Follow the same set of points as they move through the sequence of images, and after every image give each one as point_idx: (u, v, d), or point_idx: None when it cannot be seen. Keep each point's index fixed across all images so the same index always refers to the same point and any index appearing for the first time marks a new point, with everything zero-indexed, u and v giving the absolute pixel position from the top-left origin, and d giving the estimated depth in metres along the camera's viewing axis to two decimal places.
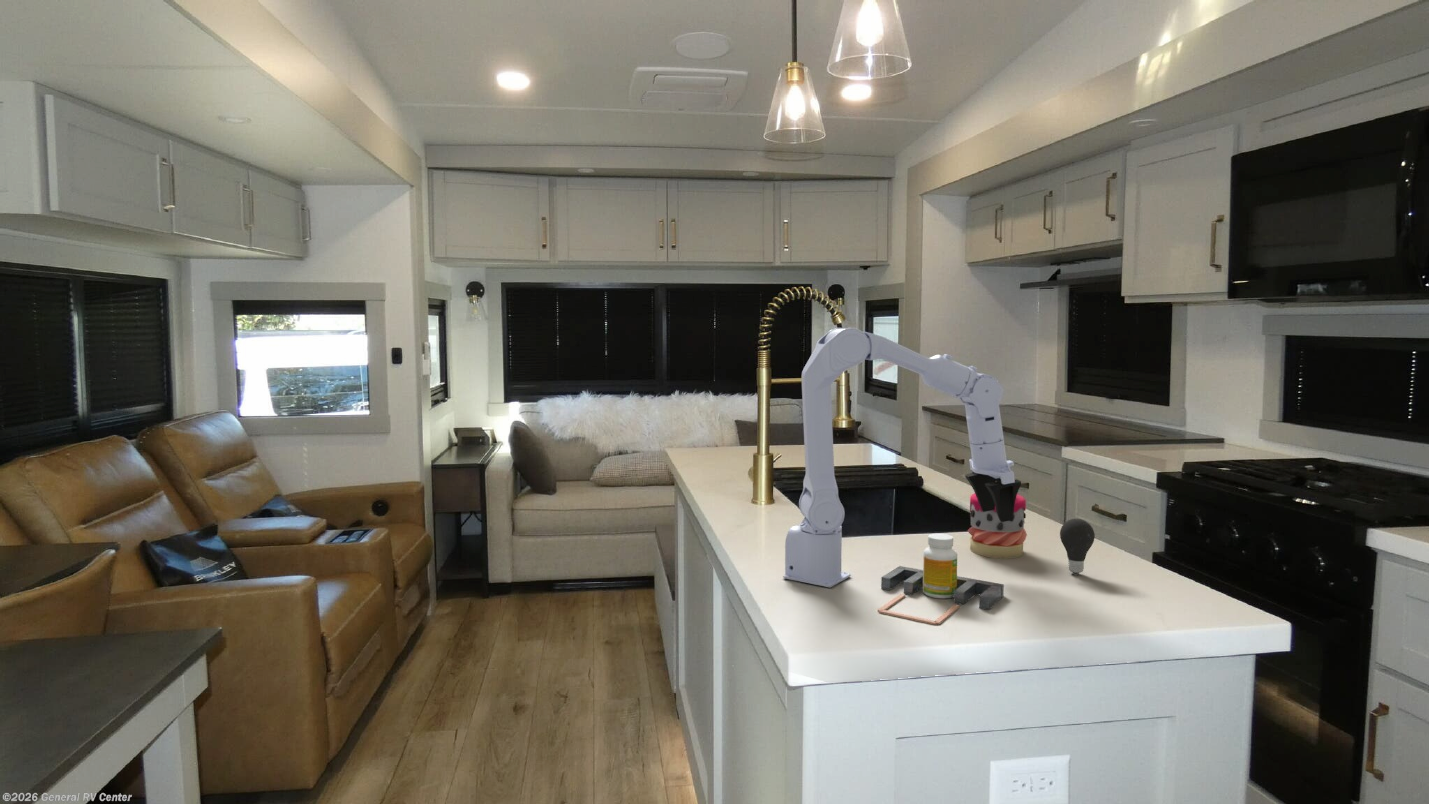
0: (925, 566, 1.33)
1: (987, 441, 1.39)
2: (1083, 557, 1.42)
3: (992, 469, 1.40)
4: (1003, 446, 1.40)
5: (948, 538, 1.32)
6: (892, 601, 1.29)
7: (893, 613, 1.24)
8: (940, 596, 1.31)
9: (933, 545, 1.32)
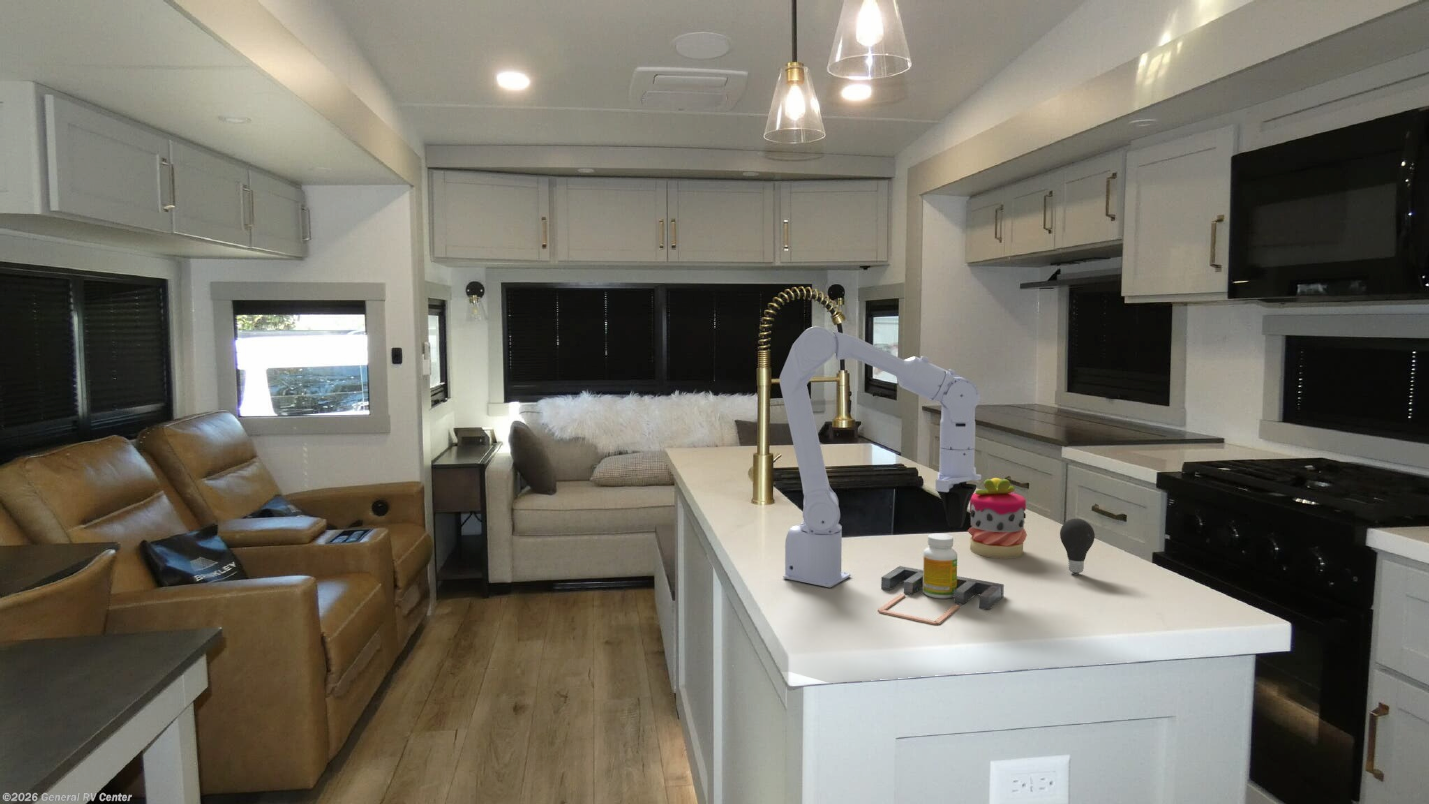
0: (925, 566, 1.33)
1: (954, 447, 1.35)
2: (1083, 557, 1.42)
3: (946, 476, 1.36)
4: (965, 456, 1.35)
5: (948, 538, 1.32)
6: (892, 601, 1.29)
7: (893, 613, 1.24)
8: (940, 596, 1.31)
9: (933, 545, 1.32)
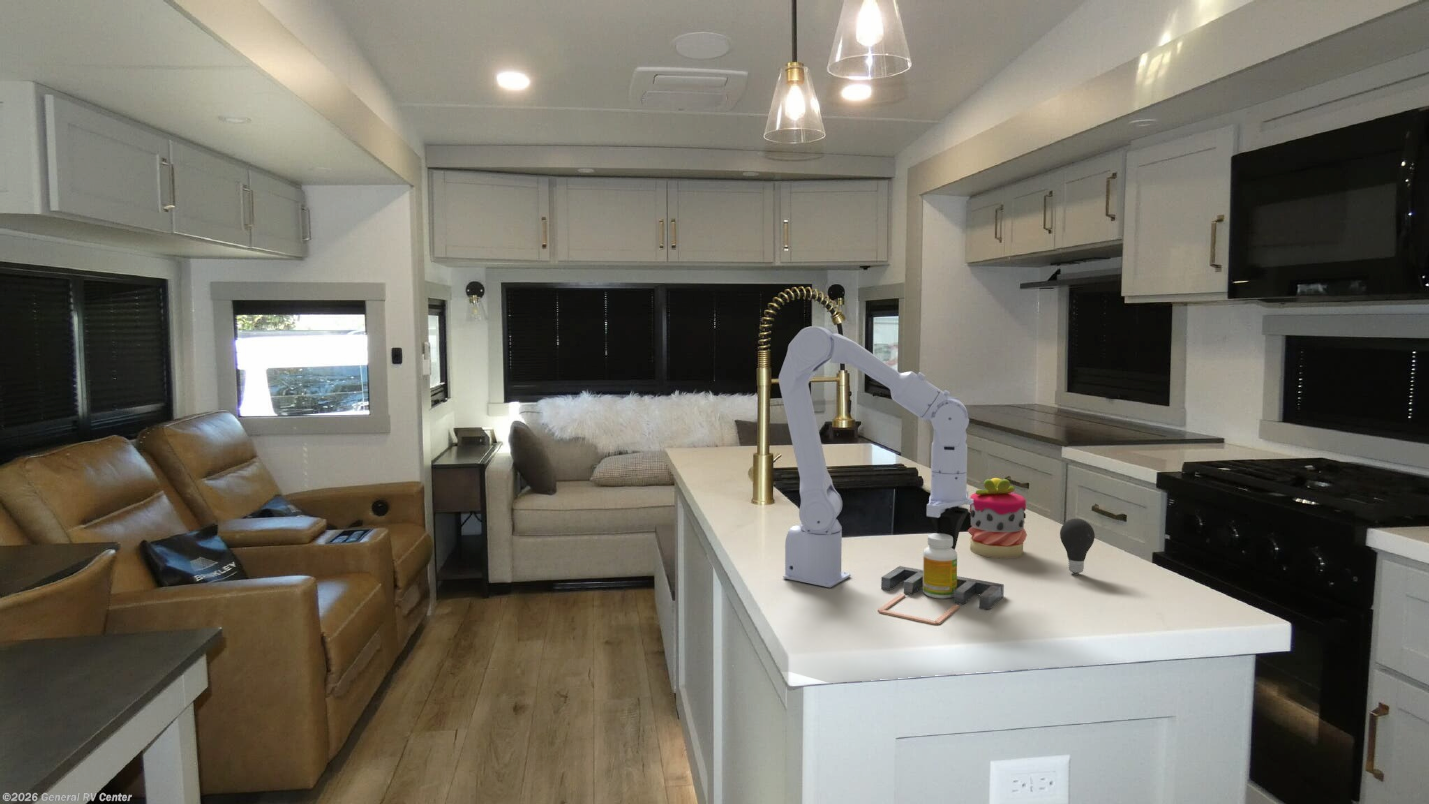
0: (925, 566, 1.33)
1: (942, 471, 1.32)
2: (1083, 557, 1.42)
3: (937, 500, 1.33)
4: (957, 480, 1.32)
5: (948, 538, 1.31)
6: (892, 601, 1.29)
7: (893, 613, 1.24)
8: (940, 596, 1.31)
9: (933, 545, 1.32)
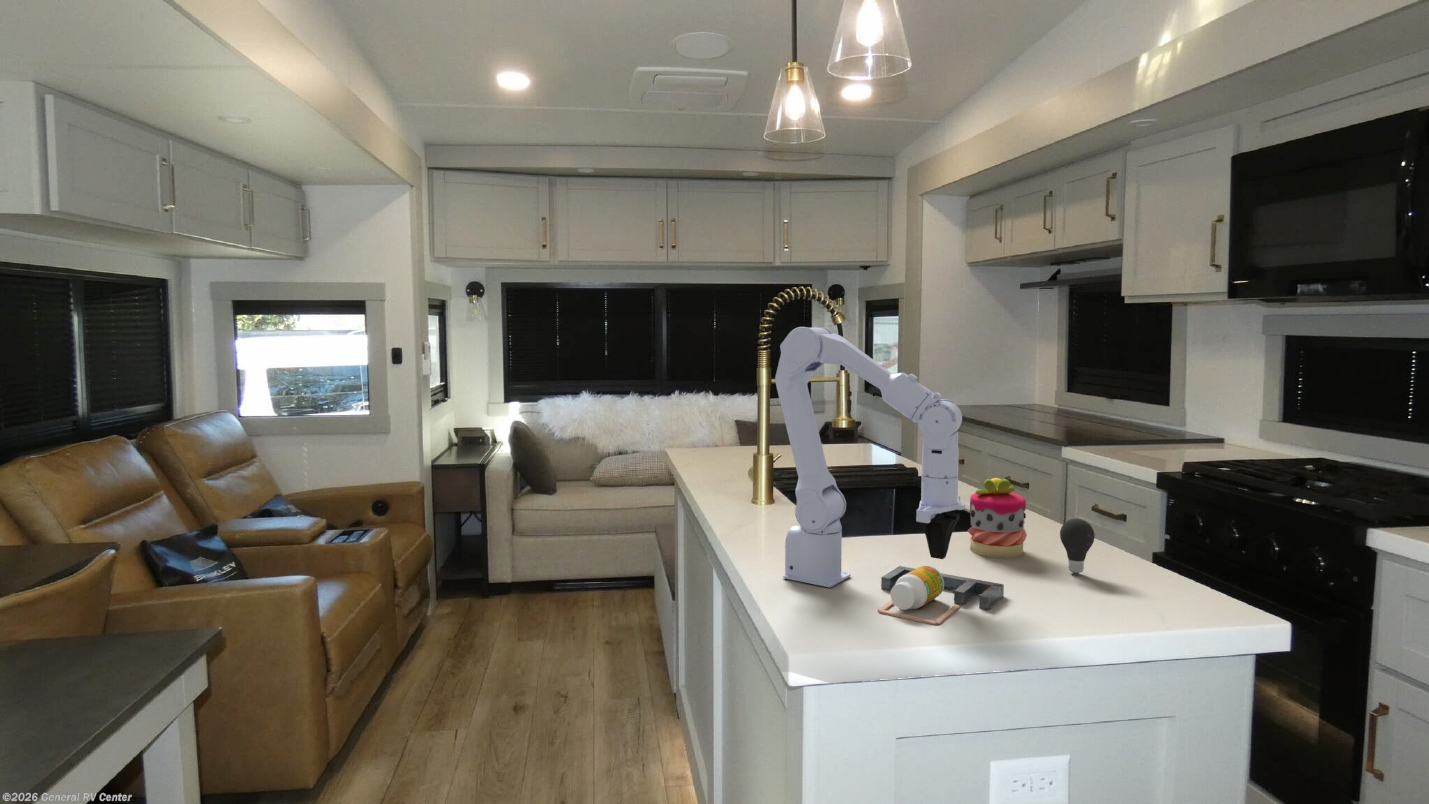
0: None
1: (930, 475, 1.29)
2: (1083, 557, 1.42)
3: (927, 505, 1.30)
4: (948, 485, 1.28)
5: (911, 598, 1.23)
6: None
7: (893, 613, 1.24)
8: None
9: None
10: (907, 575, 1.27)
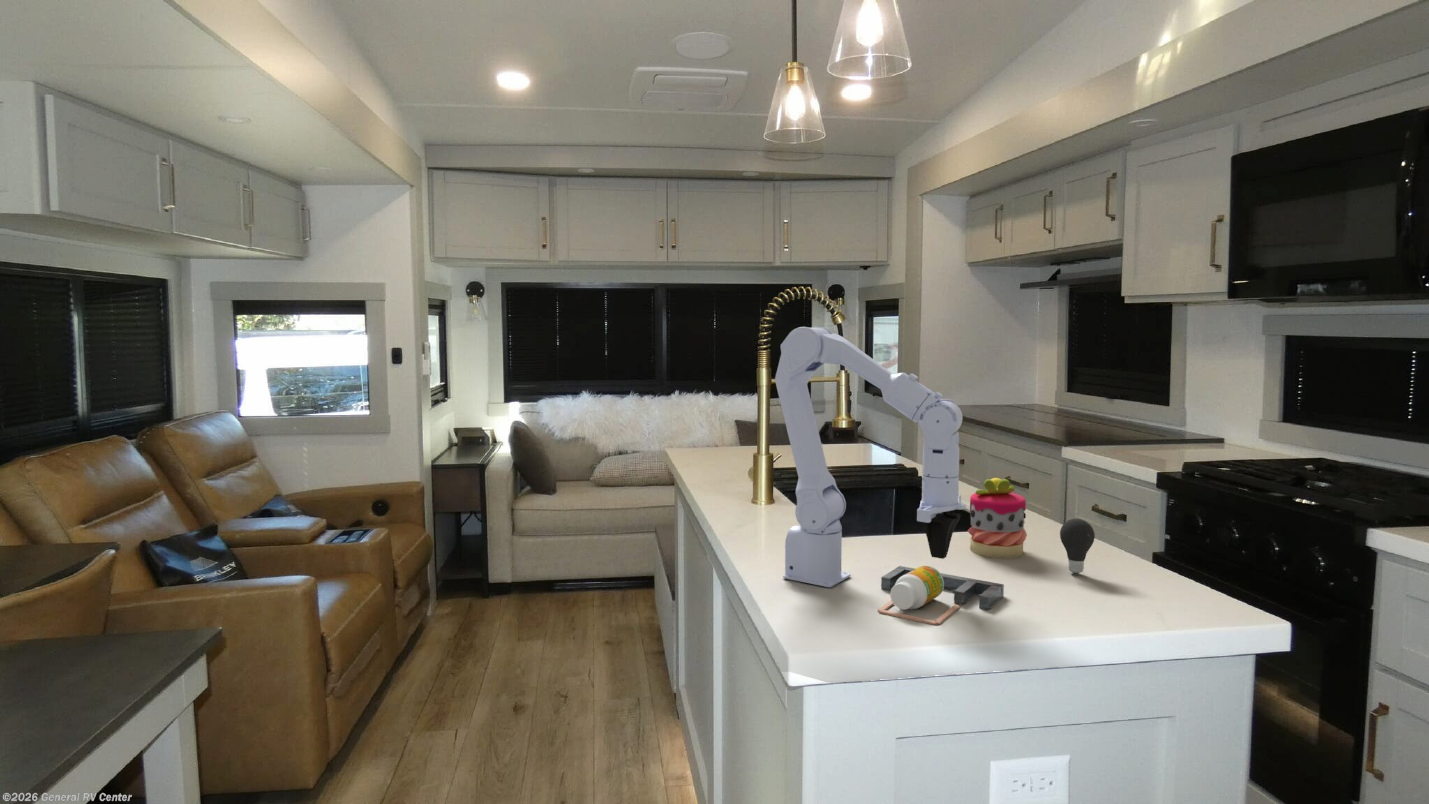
0: None
1: (931, 474, 1.29)
2: (1083, 557, 1.42)
3: (928, 505, 1.30)
4: (948, 485, 1.29)
5: (910, 598, 1.24)
6: None
7: (893, 613, 1.24)
8: (937, 596, 1.31)
9: None
10: (907, 575, 1.27)
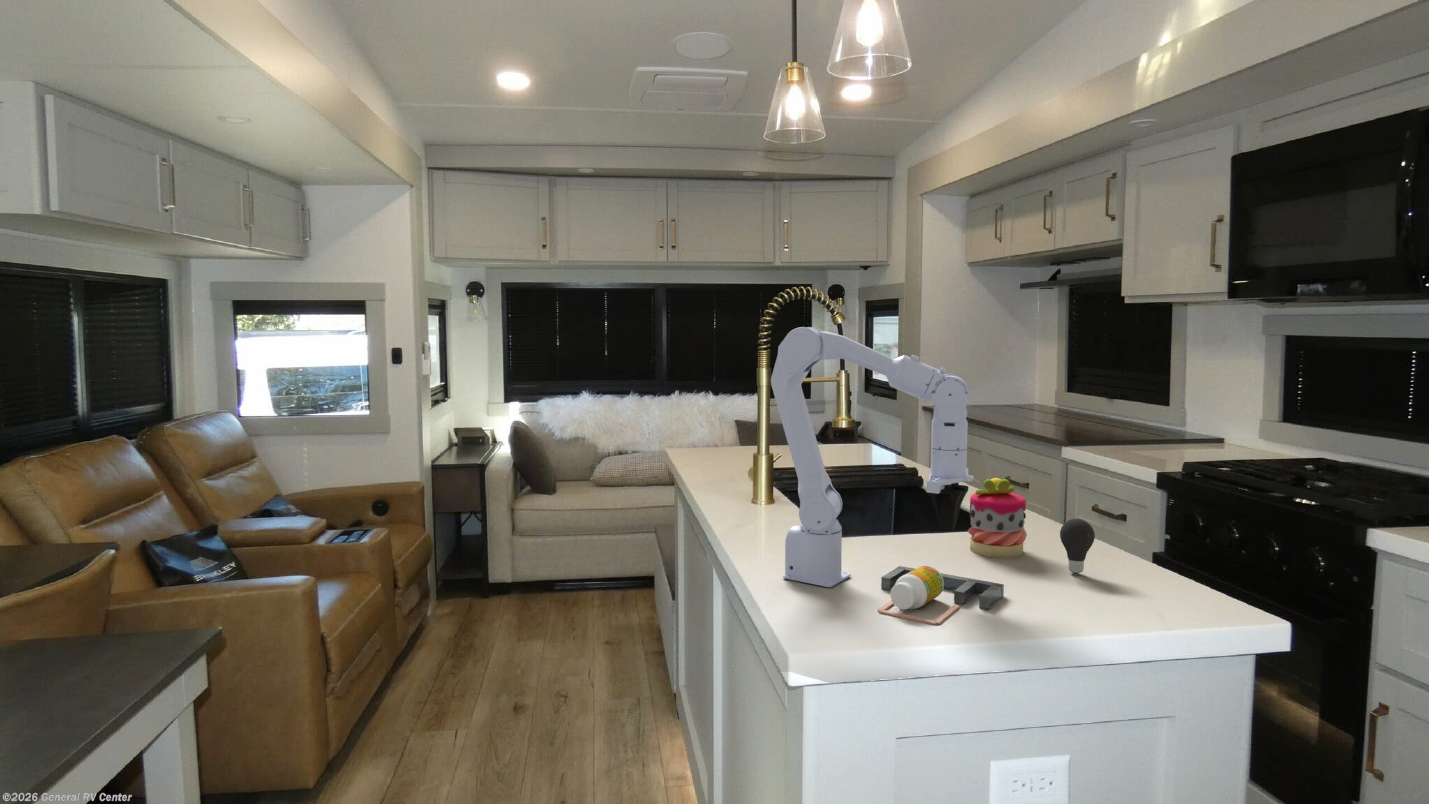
0: None
1: (942, 447, 1.32)
2: (1083, 557, 1.42)
3: (937, 477, 1.33)
4: (957, 457, 1.31)
5: (910, 598, 1.24)
6: None
7: (893, 613, 1.24)
8: (937, 596, 1.31)
9: None
10: (907, 575, 1.27)
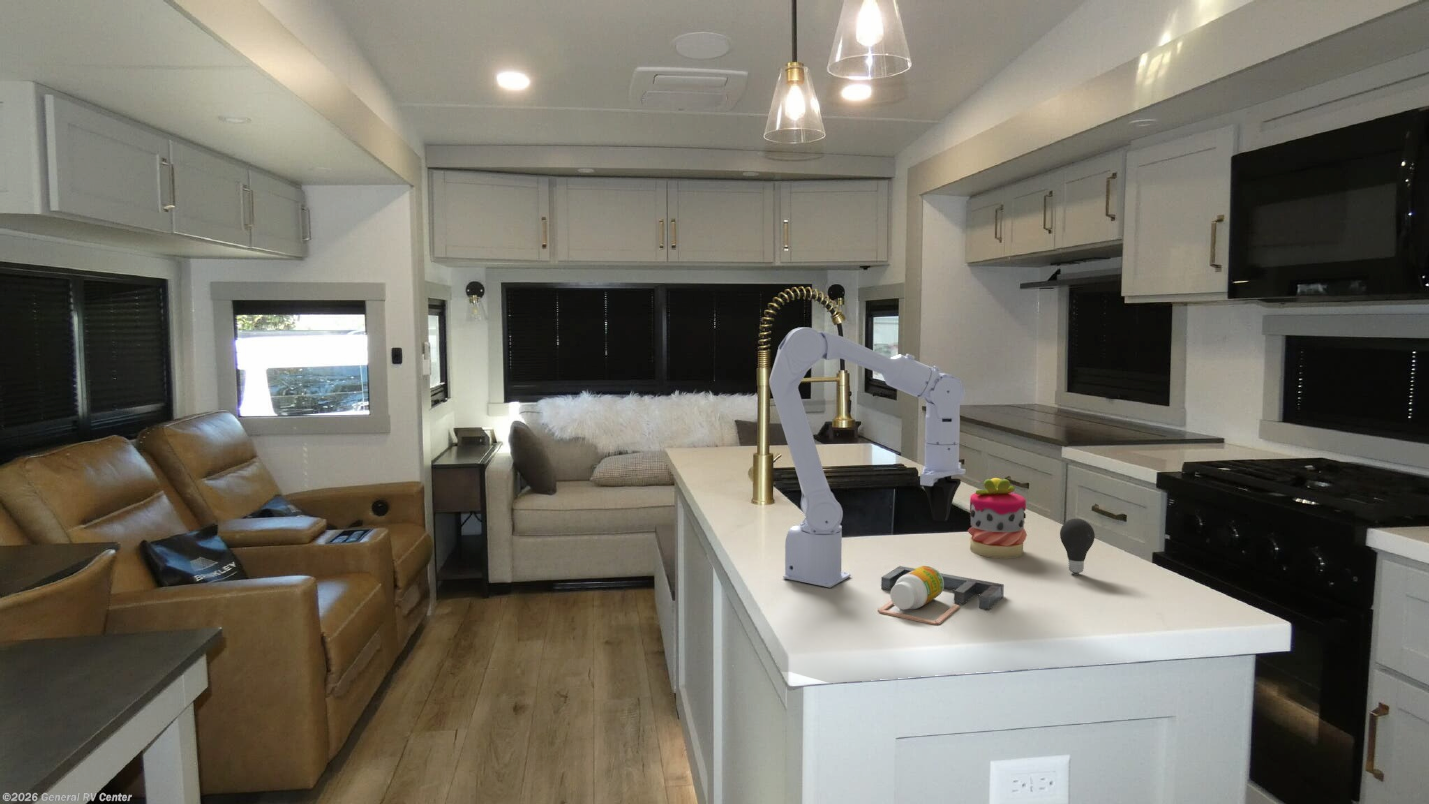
0: None
1: (940, 442, 1.37)
2: (1083, 557, 1.42)
3: (931, 470, 1.38)
4: (949, 451, 1.37)
5: (910, 598, 1.24)
6: None
7: (893, 613, 1.24)
8: (937, 596, 1.31)
9: None
10: (907, 575, 1.27)
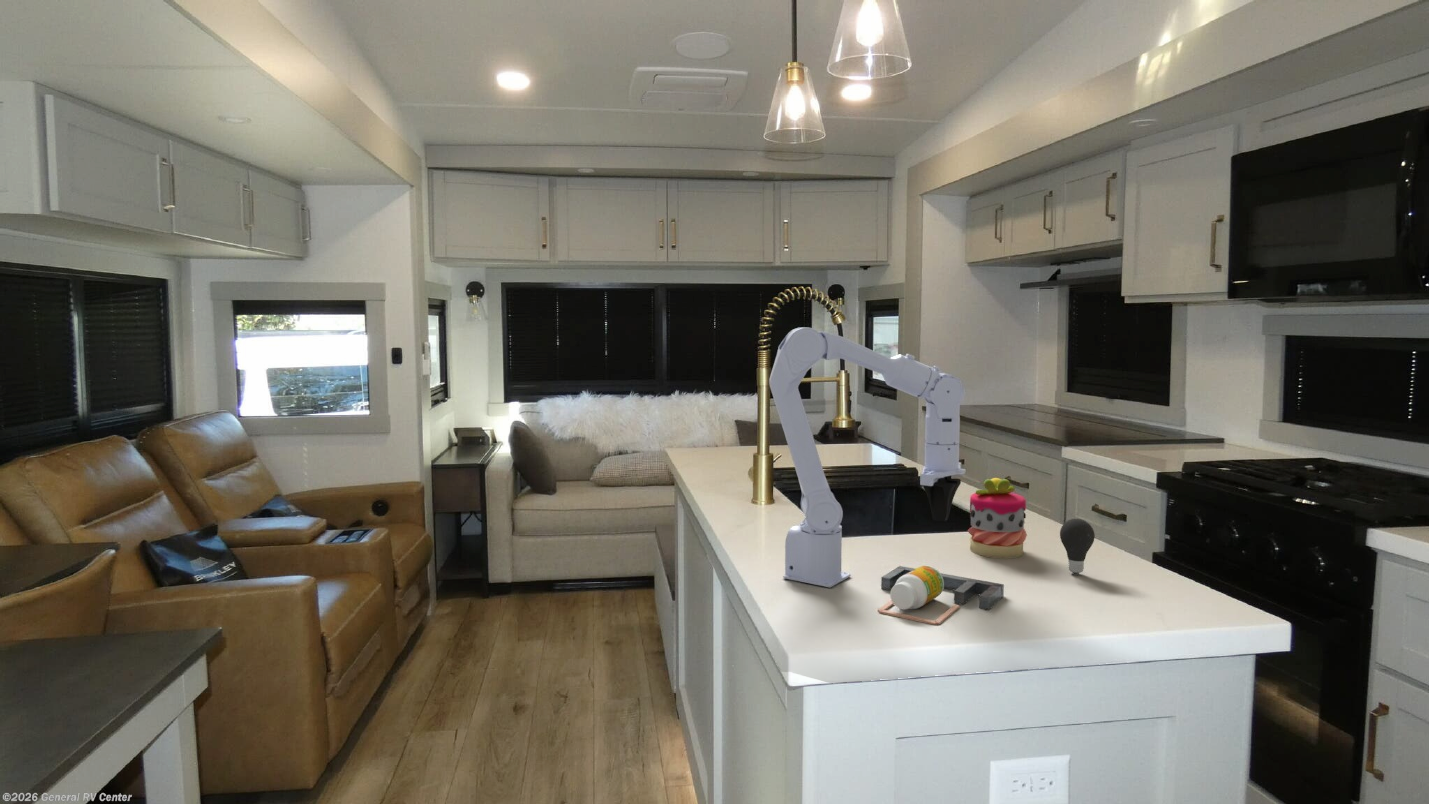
0: None
1: (940, 442, 1.37)
2: (1083, 557, 1.42)
3: (931, 470, 1.38)
4: (949, 451, 1.37)
5: (910, 598, 1.24)
6: None
7: (893, 613, 1.24)
8: (937, 596, 1.31)
9: None
10: (907, 575, 1.27)
